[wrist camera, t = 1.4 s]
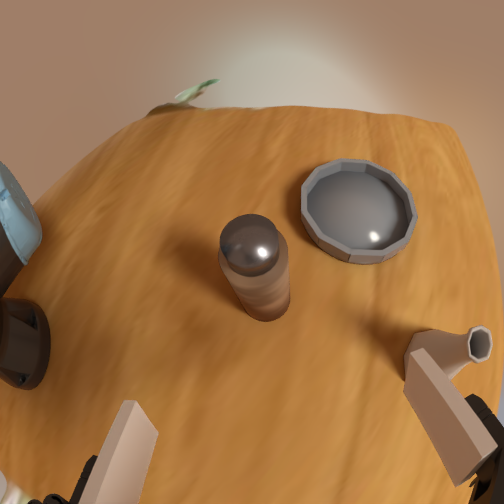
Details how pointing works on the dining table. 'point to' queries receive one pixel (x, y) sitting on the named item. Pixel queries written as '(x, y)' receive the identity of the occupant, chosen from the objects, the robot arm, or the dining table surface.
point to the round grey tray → (357, 211)
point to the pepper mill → (256, 265)
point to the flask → (452, 348)
